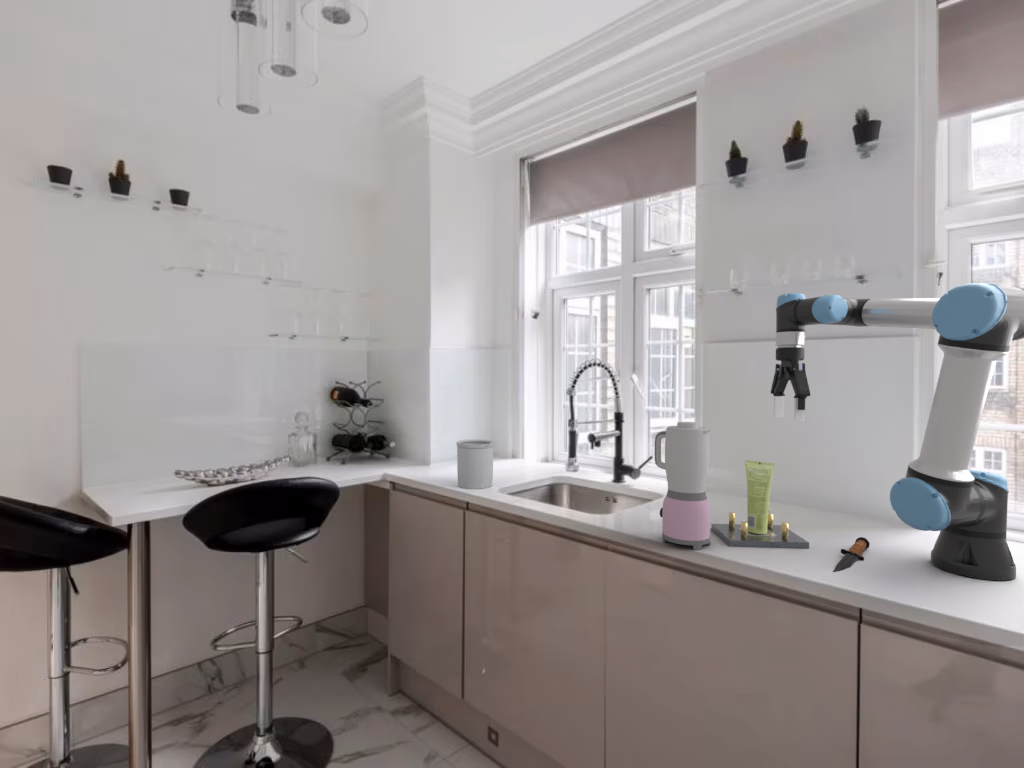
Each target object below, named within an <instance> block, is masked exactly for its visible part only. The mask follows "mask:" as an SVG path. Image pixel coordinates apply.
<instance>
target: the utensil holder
mask: <svg viewBox="0 0 1024 768" xmlns="http://www.w3.org/2000/svg"><path fill="white" fill-rule="evenodd" d="M494 447H495V441H493V440H490V439H489V440H488V439H473V438H472V439H461V440H458V441H456V449H457V451H456V453H457V454H456V456H457V457H456V458H457V460H456V461H457V465H456V467H457V486H458V487H460V488H462V489H466V490H467V489H468V490H482V489H488V488H491V487H492V486H493V479H494V477H493V476H494V475H493V474H494Z"/></svg>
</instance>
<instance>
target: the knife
mask: <svg viewBox="0 0 1024 768" xmlns="http://www.w3.org/2000/svg"><path fill="white" fill-rule="evenodd" d="M870 545H871V544H870V541H869V540H868V539H867V538H865V537H863V536H862V537H861V536H860V537H859V536H858V537H857V538H856V539H855V542H854V543H853V544H852V545H851V546H850V548H849V549H848V550H846V549H844V548H841V549H840V553H841V554H842V555H844V556H843V557H842V558H841V559H840V560H839V561H838V562H837V564H836V565H835V567H834V569H833V570H832V573H836V572H837V571H838V572H840V571H844V570H847V569H849V568H851V567H852V566H853V565H854V564H855V562H856V561H858V560H860V561H864V560H865V557H864V556H862V554H863V553H864V551H865V550H867V549H869V547H870ZM838 572H837V573H838Z"/></svg>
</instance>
